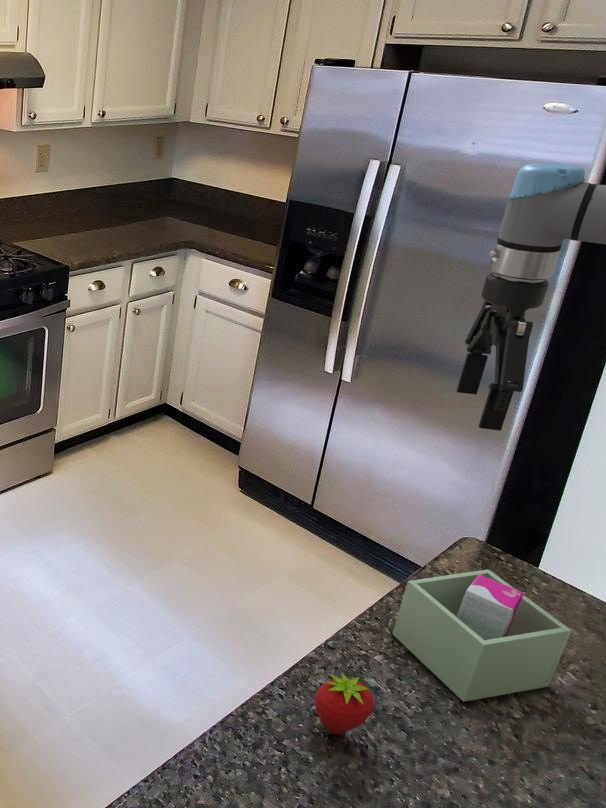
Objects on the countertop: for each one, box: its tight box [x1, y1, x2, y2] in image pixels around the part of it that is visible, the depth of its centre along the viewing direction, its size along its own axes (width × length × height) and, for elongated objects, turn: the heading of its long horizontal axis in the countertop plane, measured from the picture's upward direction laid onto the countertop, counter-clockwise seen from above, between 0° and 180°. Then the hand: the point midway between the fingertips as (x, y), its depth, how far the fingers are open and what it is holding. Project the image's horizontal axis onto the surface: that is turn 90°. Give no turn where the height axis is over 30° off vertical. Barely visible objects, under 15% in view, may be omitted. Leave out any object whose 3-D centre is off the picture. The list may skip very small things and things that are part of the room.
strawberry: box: [314, 672, 374, 735], centre depth 100 cm, size 6×8×10 cm
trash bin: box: [392, 569, 572, 703], centre depth 112 cm, size 14×14×10 cm
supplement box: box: [457, 575, 525, 641], centre depth 111 cm, size 6×6×12 cm
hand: (477, 409), depth 123 cm, fingers open, 13 cm apart
